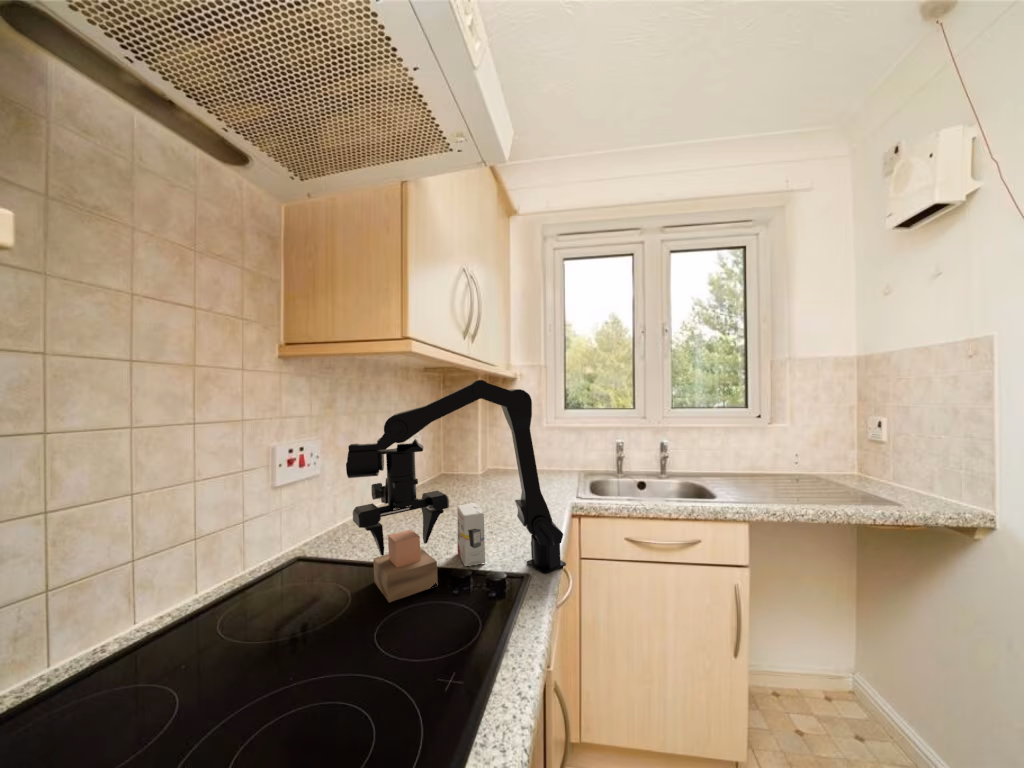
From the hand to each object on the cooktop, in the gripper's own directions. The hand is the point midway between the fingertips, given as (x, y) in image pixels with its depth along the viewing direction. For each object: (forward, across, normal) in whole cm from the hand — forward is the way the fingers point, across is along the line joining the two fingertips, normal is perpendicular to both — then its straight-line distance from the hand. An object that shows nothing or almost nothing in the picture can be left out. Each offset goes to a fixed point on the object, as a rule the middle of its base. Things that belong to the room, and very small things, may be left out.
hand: (404, 548), depth 82 cm
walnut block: (+7, 0, 0) cm, 7 cm away
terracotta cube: (+2, 0, 0) cm, 2 cm away
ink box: (+8, -16, -2) cm, 18 cm away
